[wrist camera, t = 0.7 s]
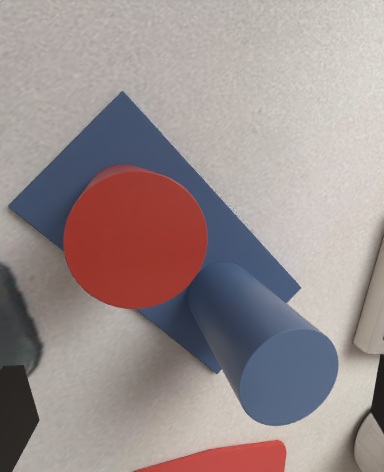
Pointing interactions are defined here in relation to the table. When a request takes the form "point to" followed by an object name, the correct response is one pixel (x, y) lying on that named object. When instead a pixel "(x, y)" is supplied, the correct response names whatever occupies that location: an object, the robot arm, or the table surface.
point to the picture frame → (373, 312)
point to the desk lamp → (230, 460)
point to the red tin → (134, 237)
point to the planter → (370, 446)
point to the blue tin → (262, 345)
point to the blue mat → (165, 163)
